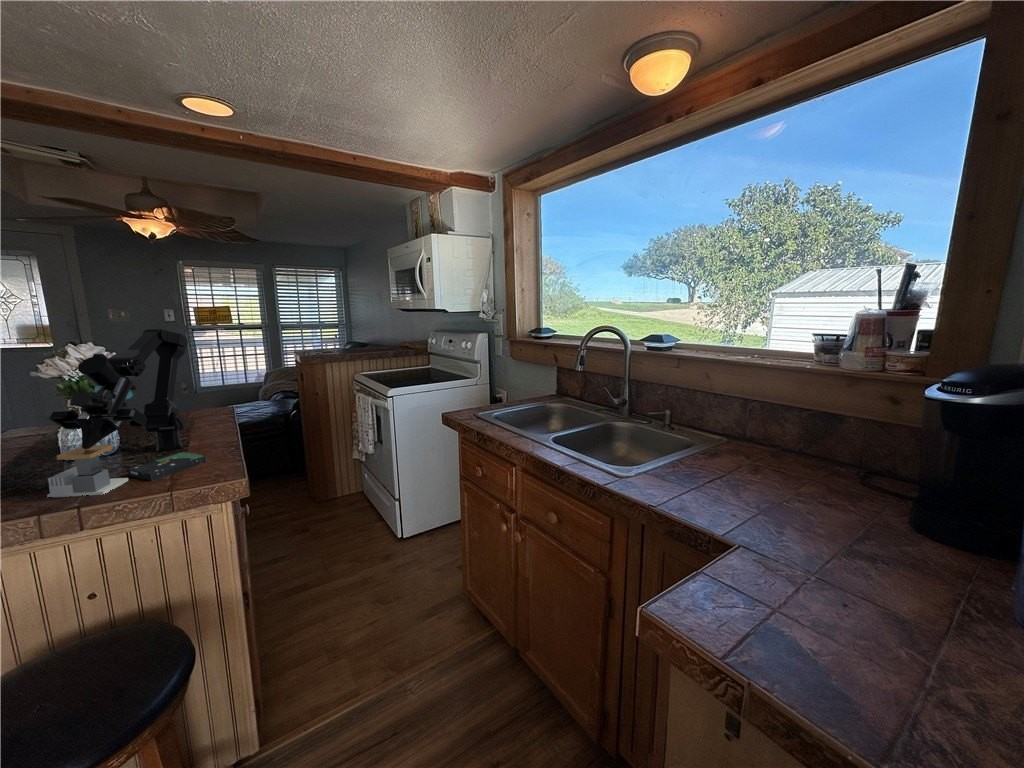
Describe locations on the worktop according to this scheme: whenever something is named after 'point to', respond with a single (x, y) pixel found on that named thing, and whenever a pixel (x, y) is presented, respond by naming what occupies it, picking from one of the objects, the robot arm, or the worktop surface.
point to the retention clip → (86, 458)
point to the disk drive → (166, 465)
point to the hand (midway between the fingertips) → (85, 448)
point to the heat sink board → (82, 483)
